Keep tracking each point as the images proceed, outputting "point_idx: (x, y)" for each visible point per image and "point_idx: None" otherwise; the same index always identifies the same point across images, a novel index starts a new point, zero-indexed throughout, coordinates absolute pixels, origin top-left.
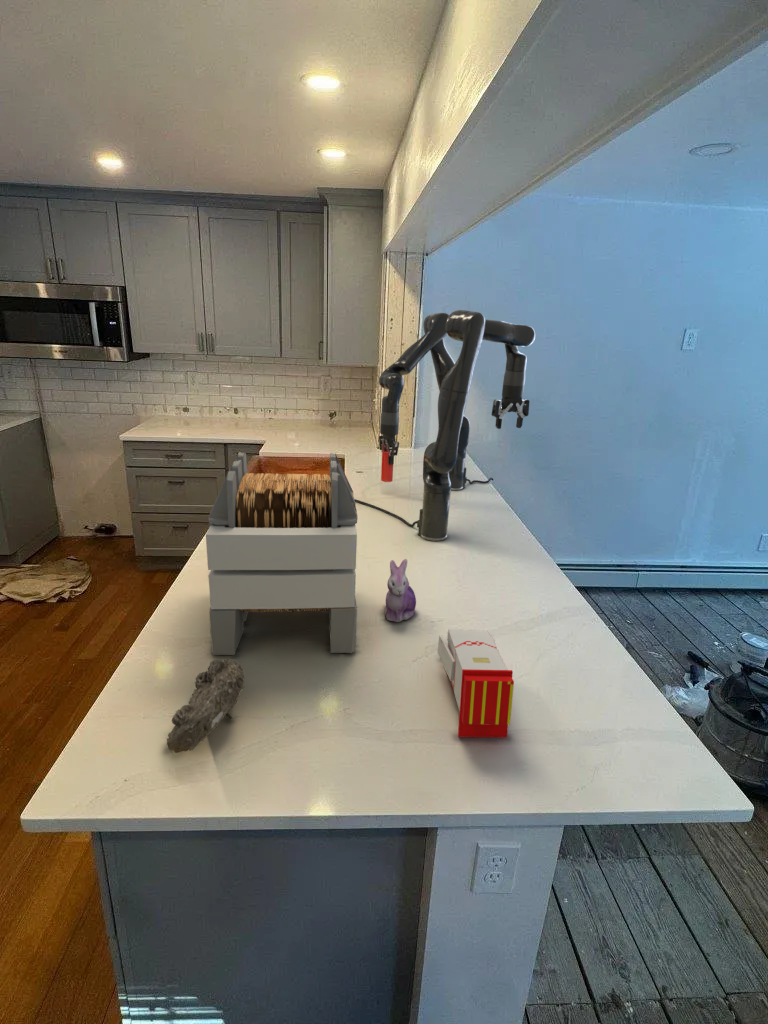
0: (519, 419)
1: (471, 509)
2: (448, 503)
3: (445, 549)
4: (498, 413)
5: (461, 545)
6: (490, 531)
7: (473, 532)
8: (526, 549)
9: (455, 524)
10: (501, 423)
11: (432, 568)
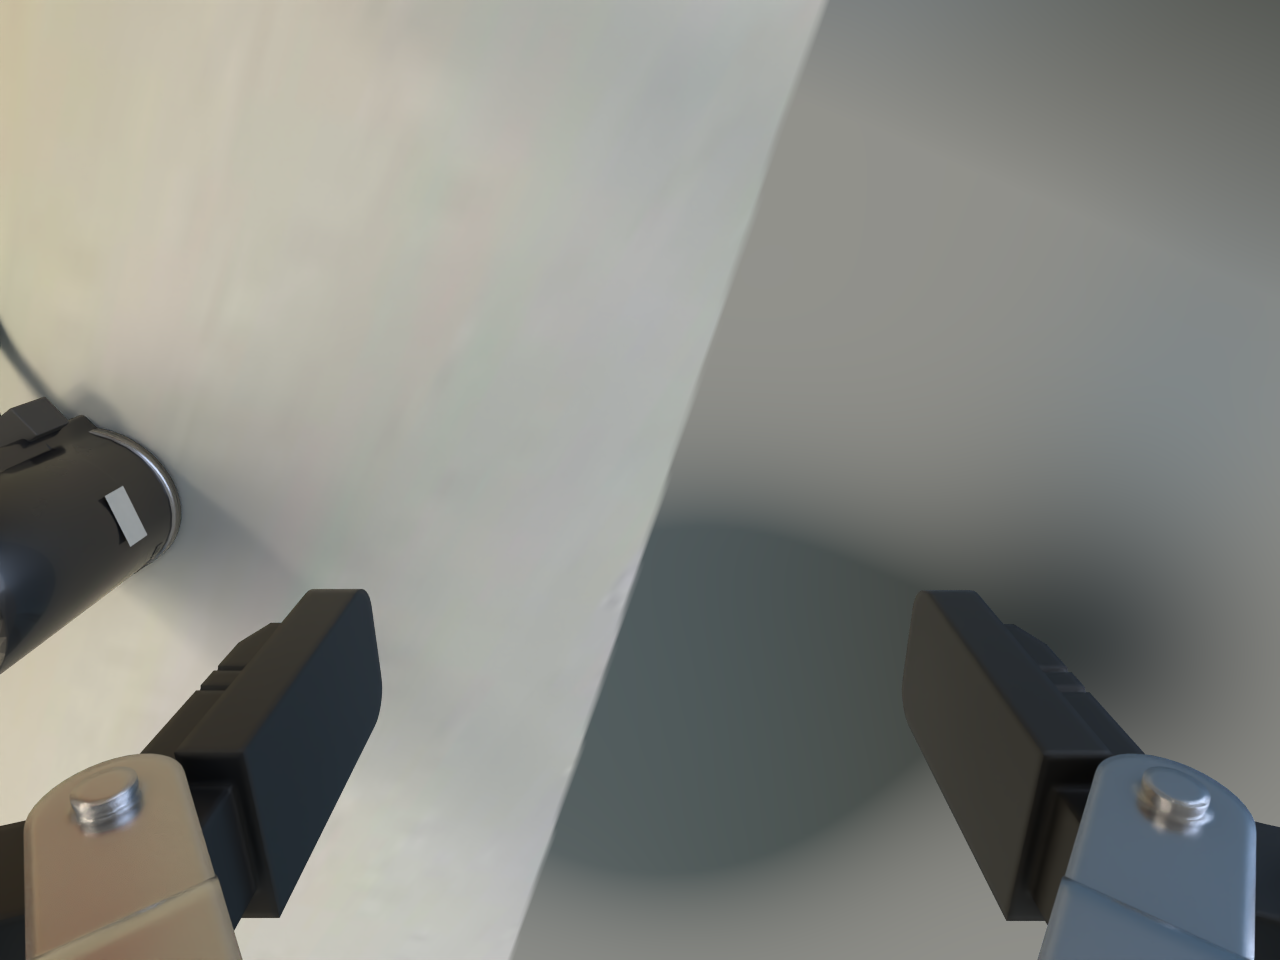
0: (992, 844)
1: (527, 106)
2: (6, 669)
3: (132, 655)
4: (72, 932)
5: (229, 634)
6: (466, 513)
7: (360, 502)
8: (535, 743)
9: (295, 361)
10: (331, 805)
11: (26, 798)
